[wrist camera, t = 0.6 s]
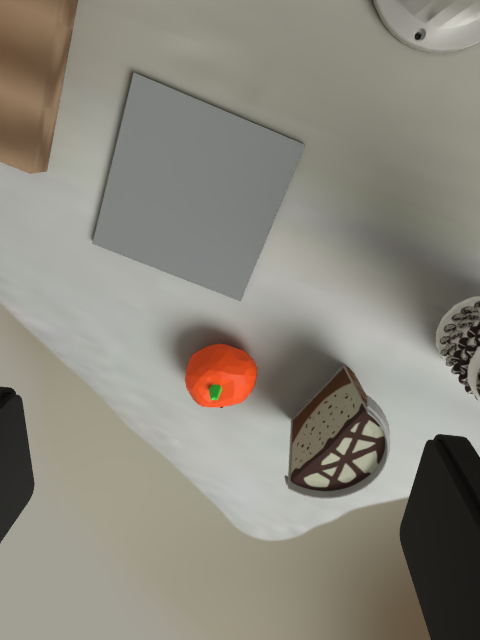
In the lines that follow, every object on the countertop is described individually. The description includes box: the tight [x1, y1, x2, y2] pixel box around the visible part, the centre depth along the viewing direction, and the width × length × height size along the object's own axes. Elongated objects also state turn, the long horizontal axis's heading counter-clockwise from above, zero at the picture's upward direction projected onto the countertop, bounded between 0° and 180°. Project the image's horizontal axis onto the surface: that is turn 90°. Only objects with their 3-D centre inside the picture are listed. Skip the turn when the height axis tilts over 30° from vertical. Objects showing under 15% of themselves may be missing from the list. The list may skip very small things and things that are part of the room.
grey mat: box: [92, 73, 305, 301], centre depth 41 cm, size 16×16×1 cm
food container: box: [285, 364, 390, 498], centre depth 44 cm, size 12×6×10 cm, turn 145°
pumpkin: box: [185, 344, 257, 408], centre depth 45 cm, size 7×8×6 cm
